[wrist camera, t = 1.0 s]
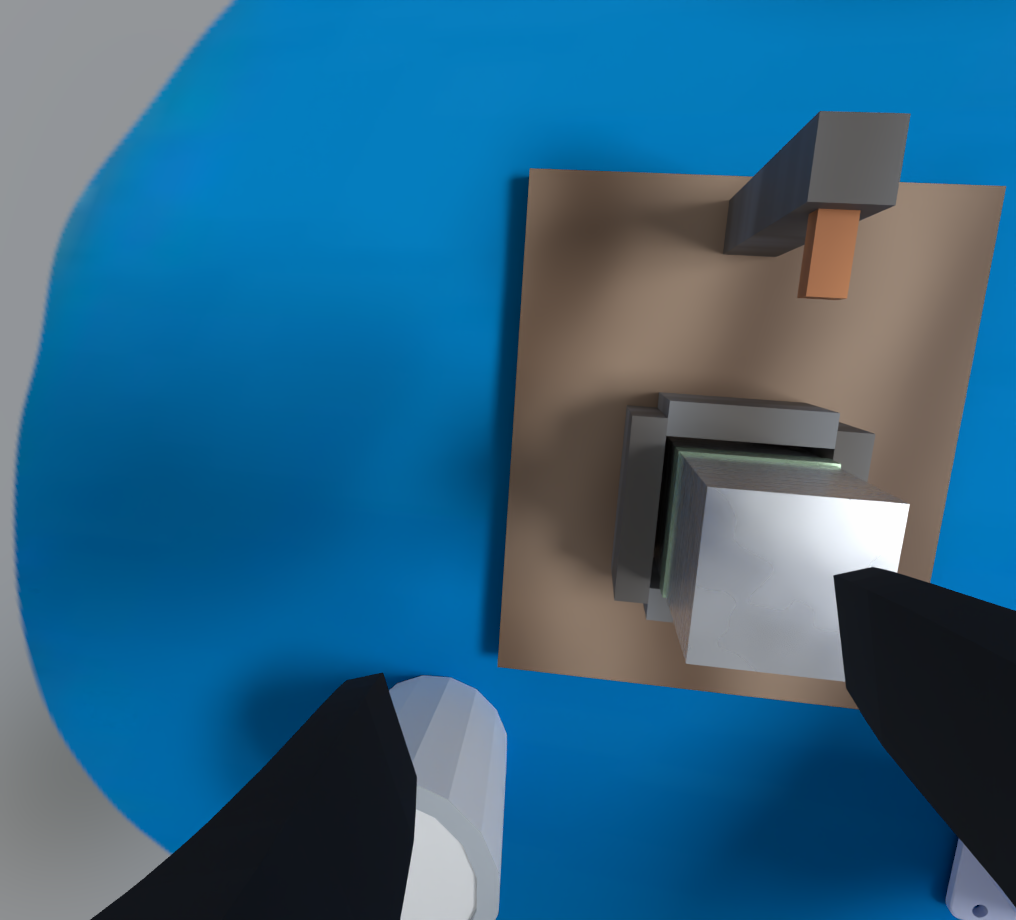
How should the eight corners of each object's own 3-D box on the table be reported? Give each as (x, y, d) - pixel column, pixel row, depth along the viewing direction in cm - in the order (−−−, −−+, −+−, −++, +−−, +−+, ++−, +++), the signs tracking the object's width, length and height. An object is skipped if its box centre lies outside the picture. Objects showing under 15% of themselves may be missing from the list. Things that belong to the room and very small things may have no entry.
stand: (986, 193, 20) (1298, 79, 11) (891, 699, 24) (1077, 920, 15) (532, 176, 22) (493, 63, 13) (501, 653, 25) (451, 830, 16)
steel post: (795, 440, 21) (914, 500, 13) (777, 564, 22) (879, 689, 14) (662, 430, 22) (704, 483, 14) (649, 552, 22) (681, 666, 15)
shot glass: (506, 650, 25) (475, 767, 18) (538, 811, 26) (520, 979, 19) (335, 670, 26) (245, 788, 19) (372, 825, 27) (299, 989, 20)
